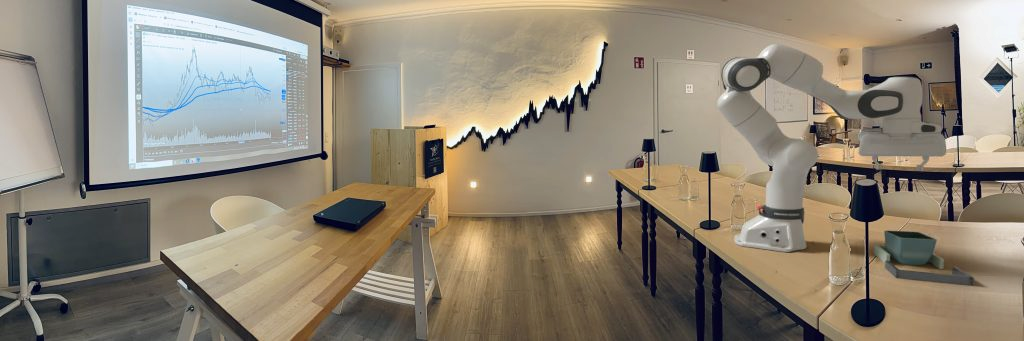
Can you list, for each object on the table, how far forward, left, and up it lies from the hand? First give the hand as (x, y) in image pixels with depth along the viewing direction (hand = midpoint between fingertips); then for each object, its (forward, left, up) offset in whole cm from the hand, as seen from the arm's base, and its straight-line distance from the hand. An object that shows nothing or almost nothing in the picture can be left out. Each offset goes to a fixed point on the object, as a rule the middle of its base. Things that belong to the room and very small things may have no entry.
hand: (898, 170), depth 128 cm
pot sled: (0, -9, -27) cm, 29 cm away
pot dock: (0, -23, -28) cm, 36 cm away
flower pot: (0, -11, -28) cm, 30 cm away
